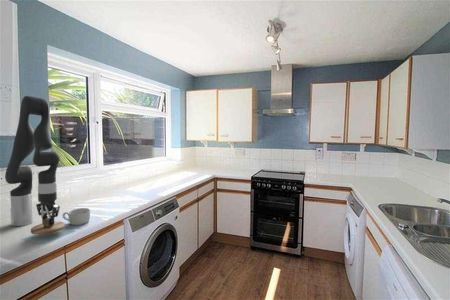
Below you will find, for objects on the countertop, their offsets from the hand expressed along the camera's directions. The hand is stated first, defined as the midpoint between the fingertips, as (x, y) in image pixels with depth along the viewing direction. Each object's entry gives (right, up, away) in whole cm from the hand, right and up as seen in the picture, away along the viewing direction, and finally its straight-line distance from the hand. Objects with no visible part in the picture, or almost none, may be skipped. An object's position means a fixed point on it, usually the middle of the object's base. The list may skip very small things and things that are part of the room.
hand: (48, 224), depth 120 cm
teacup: (+4, -6, +17) cm, 19 cm away
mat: (0, -7, 0) cm, 7 cm away
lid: (0, -2, 0) cm, 2 cm away
